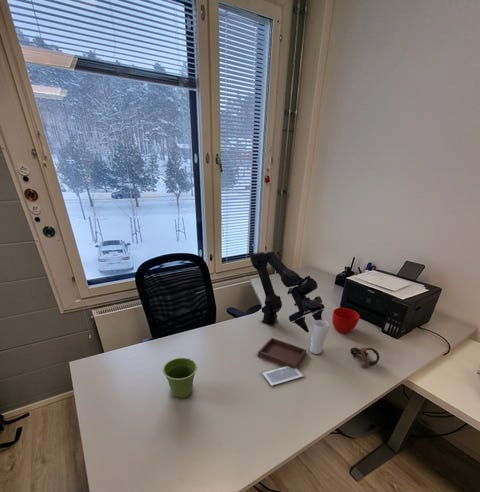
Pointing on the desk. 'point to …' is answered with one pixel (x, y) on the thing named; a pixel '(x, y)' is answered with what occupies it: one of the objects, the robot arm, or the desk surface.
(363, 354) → the pottery mug
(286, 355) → the tray
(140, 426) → the desk surface
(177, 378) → the plant pot
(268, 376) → the touchpad
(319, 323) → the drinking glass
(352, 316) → the ceramic cup
